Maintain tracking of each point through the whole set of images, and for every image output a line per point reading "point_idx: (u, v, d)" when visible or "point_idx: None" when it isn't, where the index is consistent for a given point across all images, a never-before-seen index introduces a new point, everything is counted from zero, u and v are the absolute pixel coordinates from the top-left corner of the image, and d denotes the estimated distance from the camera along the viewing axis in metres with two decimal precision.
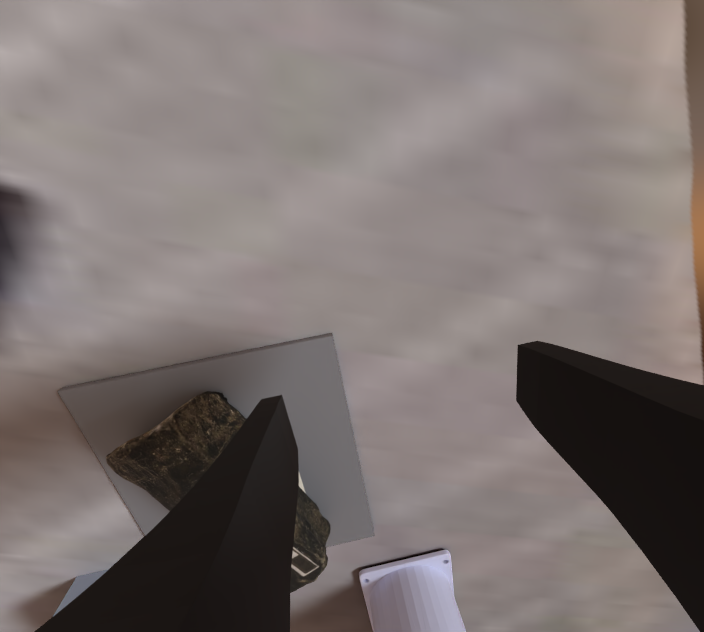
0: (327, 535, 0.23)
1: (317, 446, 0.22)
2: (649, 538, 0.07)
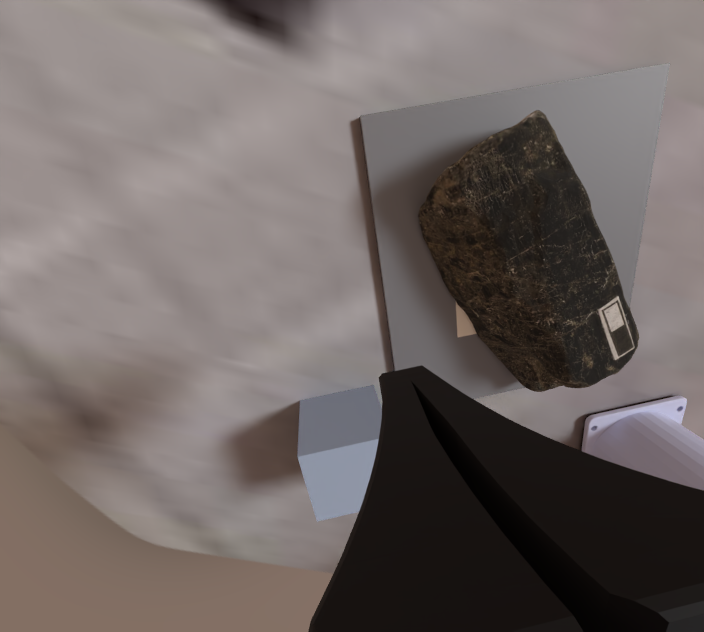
0: None
1: (603, 230, 0.19)
2: None
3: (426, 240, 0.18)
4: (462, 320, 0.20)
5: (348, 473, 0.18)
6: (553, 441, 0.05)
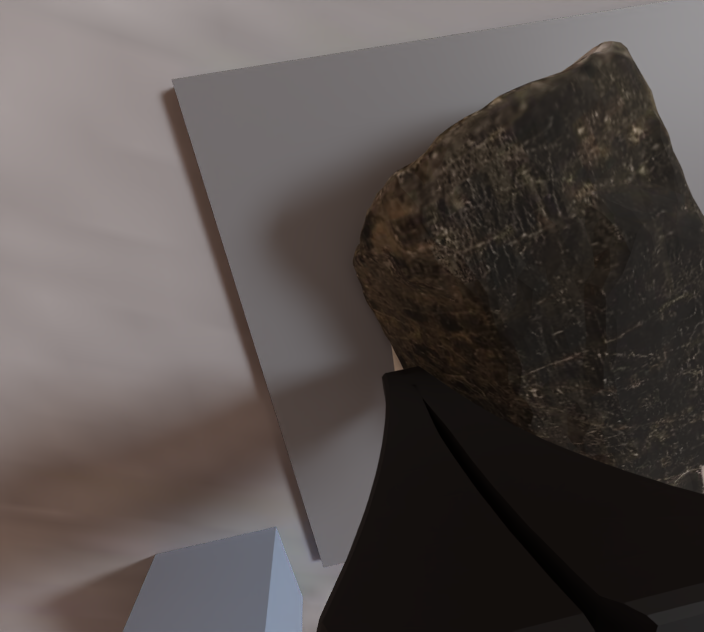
0: None
1: None
2: None
3: (371, 306, 0.10)
4: None
5: None
6: (548, 442, 0.05)
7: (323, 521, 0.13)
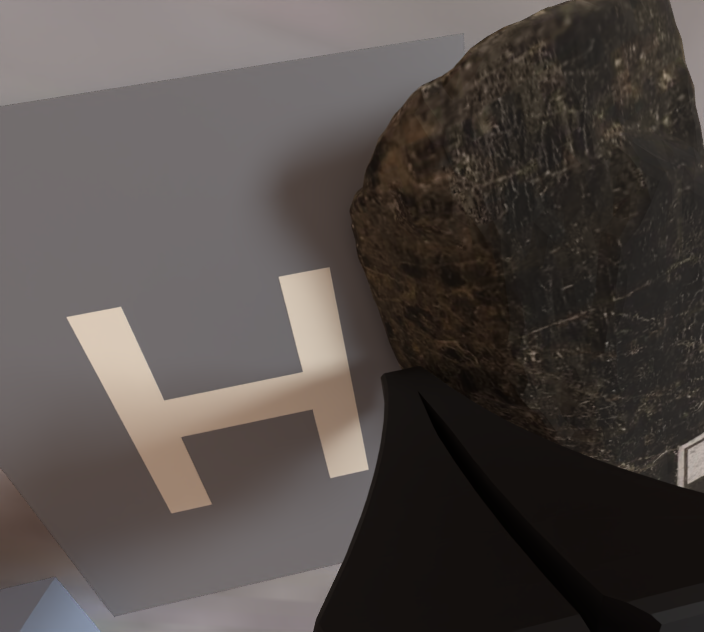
0: None
1: None
2: None
3: (363, 263, 0.09)
4: (170, 489, 0.12)
5: None
6: (549, 442, 0.05)
7: (97, 573, 0.13)
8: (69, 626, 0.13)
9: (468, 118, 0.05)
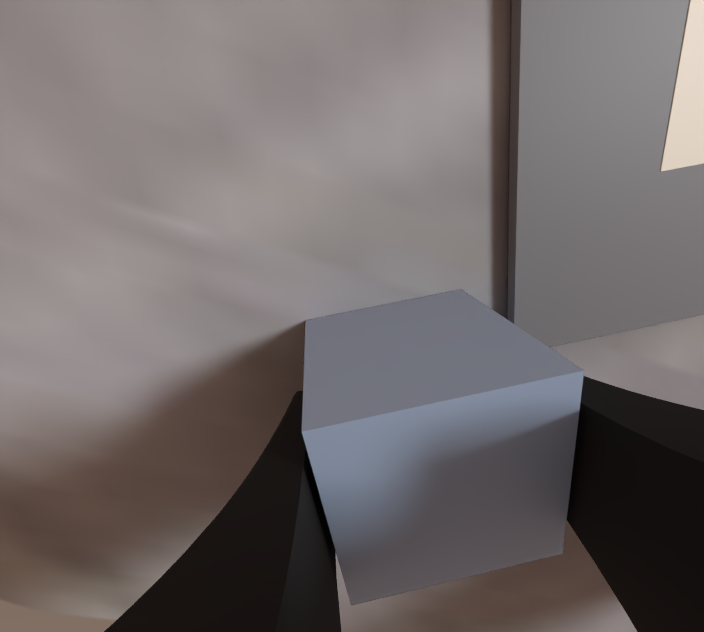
0: None
1: None
2: (600, 550, 0.07)
3: None
4: (681, 124, 0.09)
5: (446, 482, 0.06)
6: (694, 409, 0.05)
7: (532, 272, 0.10)
8: None
9: None
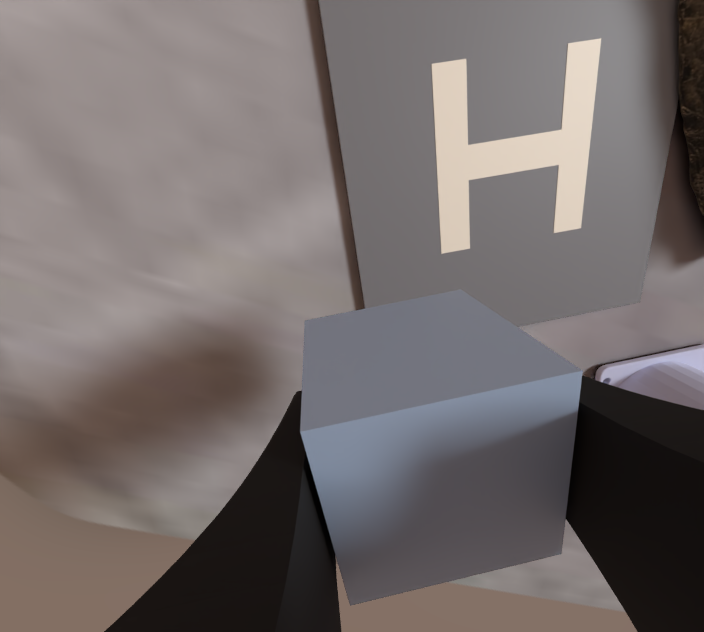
0: None
1: (627, 110, 0.15)
2: (601, 550, 0.07)
3: (683, 15, 0.14)
4: (447, 230, 0.16)
5: (445, 483, 0.06)
6: (695, 409, 0.05)
7: None
8: None
9: None
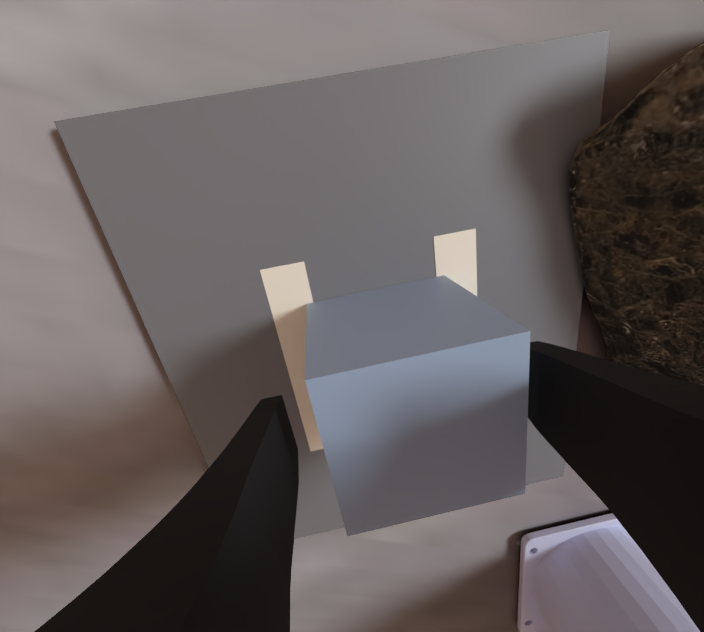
0: None
1: (520, 297, 0.12)
2: (649, 538, 0.07)
3: (575, 204, 0.11)
4: (313, 429, 0.14)
5: (423, 426, 0.08)
6: None
7: None
8: None
9: None
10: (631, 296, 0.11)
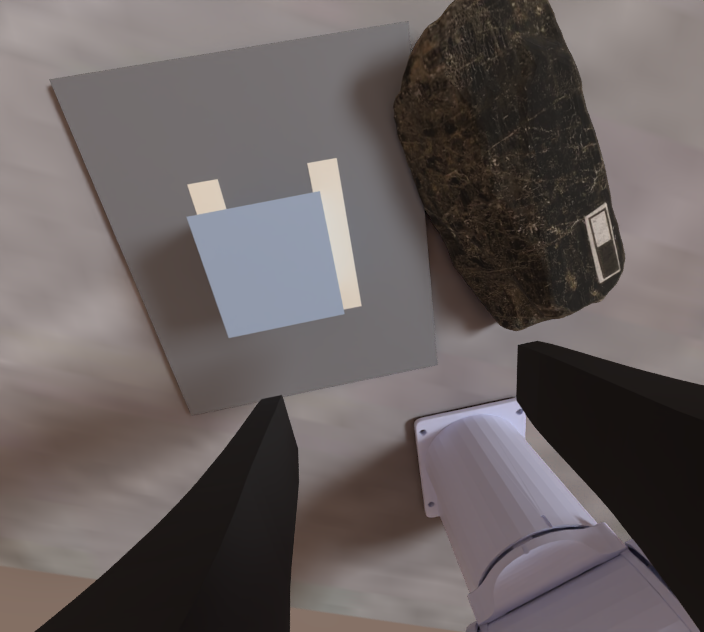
0: None
1: (377, 211, 0.18)
2: (649, 538, 0.07)
3: (401, 139, 0.16)
4: None
5: (264, 255, 0.13)
6: None
7: (184, 376, 0.20)
8: None
9: (450, 36, 0.12)
10: (445, 204, 0.16)
